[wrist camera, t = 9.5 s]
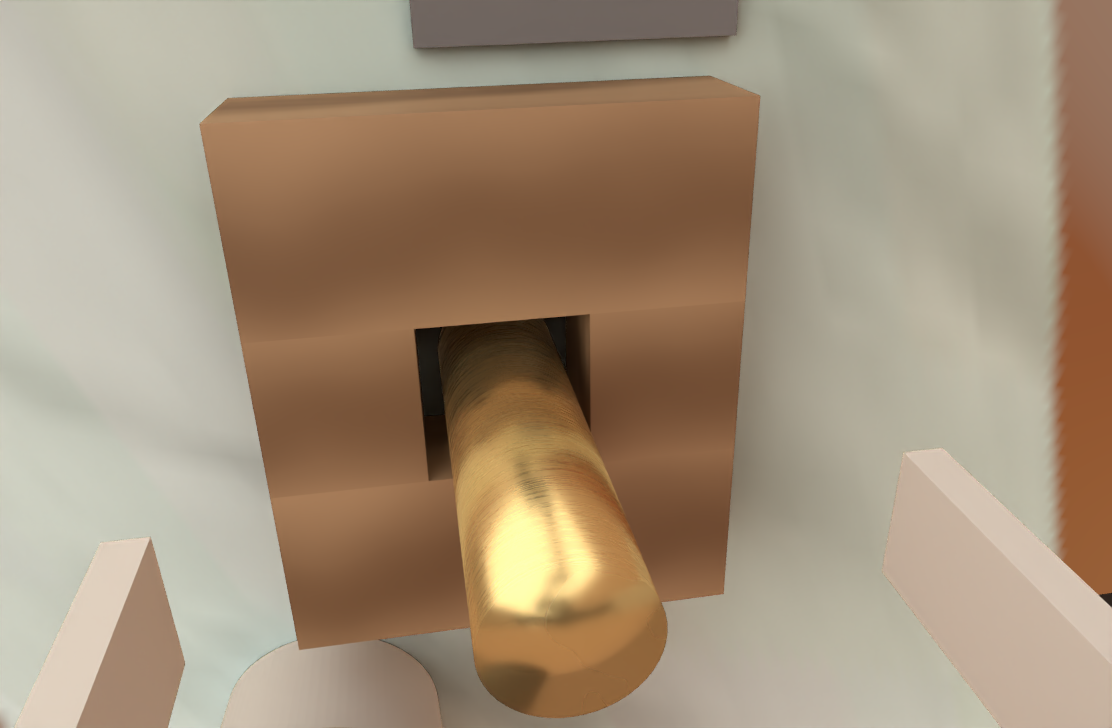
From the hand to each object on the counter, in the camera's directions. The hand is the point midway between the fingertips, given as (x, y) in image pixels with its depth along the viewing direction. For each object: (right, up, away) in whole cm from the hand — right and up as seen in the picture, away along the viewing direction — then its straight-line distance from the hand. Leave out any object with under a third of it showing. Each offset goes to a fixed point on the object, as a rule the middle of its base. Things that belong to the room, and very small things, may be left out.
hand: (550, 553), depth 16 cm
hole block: (-2, +4, +9) cm, 10 cm away
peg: (-2, +4, +9) cm, 10 cm away
